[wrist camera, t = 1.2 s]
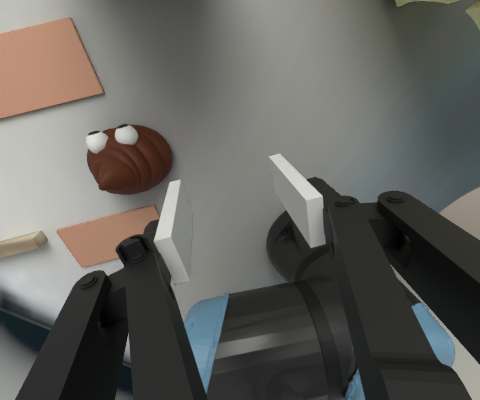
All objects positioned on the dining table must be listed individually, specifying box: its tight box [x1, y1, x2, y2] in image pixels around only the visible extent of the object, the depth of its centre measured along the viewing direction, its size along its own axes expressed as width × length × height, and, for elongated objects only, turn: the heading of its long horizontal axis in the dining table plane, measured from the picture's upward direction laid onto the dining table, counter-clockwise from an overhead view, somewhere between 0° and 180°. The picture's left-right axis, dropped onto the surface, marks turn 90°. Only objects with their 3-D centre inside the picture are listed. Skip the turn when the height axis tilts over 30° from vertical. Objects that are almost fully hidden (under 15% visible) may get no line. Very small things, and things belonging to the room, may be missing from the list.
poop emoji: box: [86, 124, 172, 195], centre depth 27 cm, size 10×8×9 cm
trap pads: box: [0, 18, 160, 268], centre depth 31 cm, size 29×14×1 cm, turn 12°
